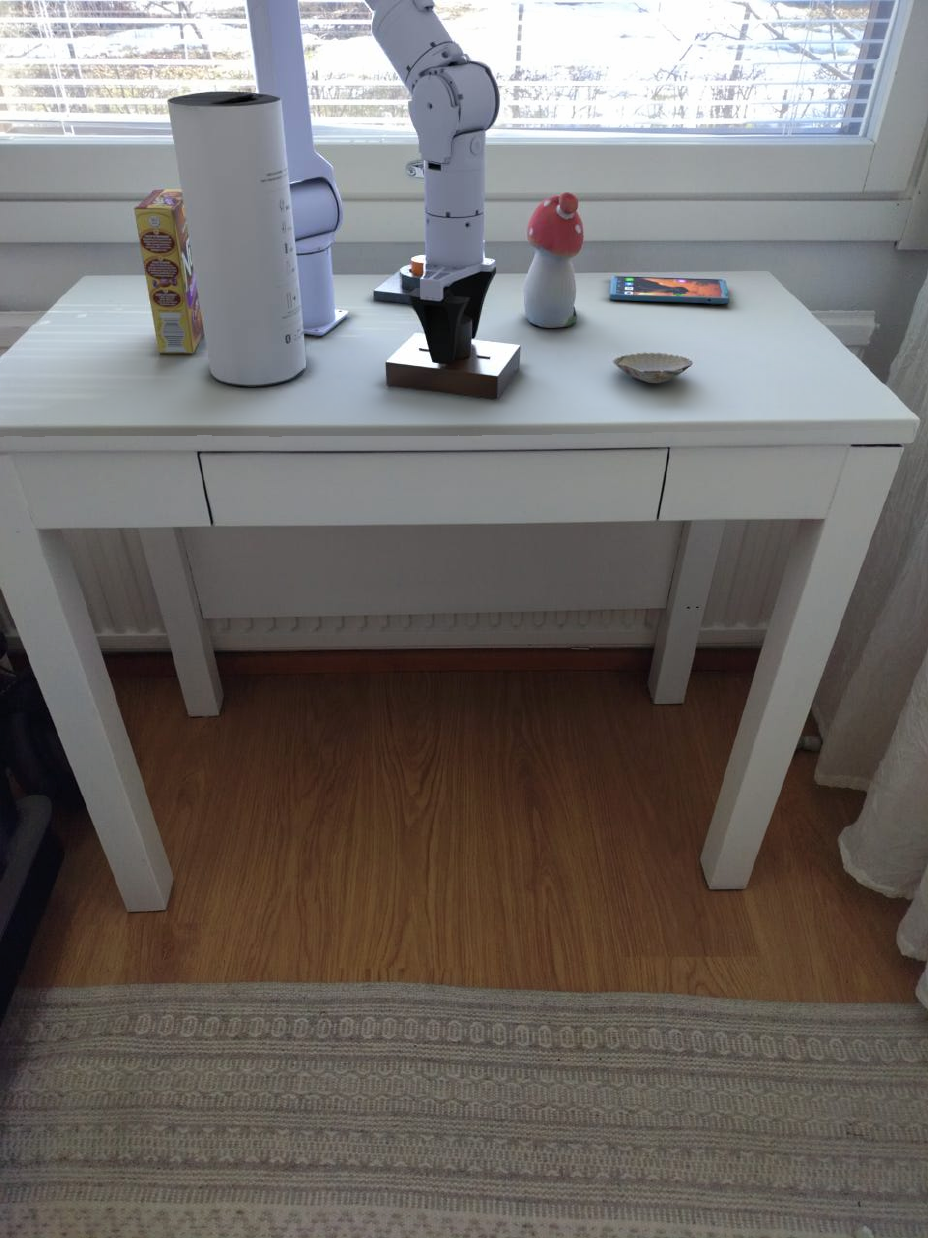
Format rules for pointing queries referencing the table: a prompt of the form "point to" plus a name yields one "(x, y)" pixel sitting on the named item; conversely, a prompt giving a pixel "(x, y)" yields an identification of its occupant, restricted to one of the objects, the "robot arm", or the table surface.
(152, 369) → the table surface
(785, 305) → the table surface
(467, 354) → the dial
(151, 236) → the candy box
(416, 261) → the switch
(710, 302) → the smartphone
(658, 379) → the seashell
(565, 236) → the decorative ornament
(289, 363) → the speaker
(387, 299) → the switch base
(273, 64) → the robot arm
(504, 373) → the dial panel
